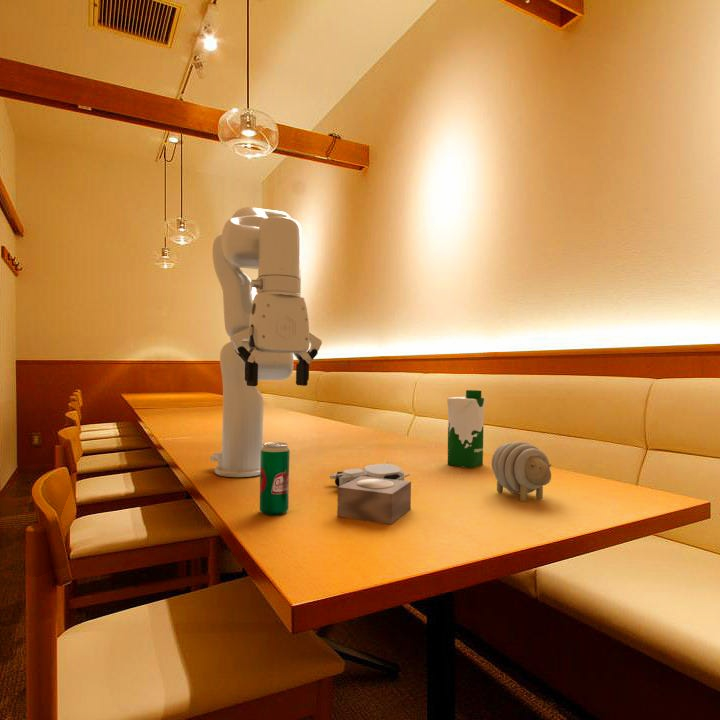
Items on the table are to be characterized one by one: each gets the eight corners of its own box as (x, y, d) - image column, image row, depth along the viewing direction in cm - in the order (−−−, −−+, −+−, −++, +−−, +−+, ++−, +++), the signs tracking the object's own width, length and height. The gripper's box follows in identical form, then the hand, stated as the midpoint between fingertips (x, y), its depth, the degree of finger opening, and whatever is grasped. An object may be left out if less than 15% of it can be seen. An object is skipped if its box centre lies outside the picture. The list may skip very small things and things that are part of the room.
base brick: (337, 515, 87) (337, 485, 87) (360, 502, 96) (361, 474, 96) (391, 524, 83) (392, 492, 83) (410, 508, 92) (411, 480, 92)
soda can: (275, 518, 85) (276, 447, 85) (253, 513, 88) (254, 444, 88) (294, 511, 89) (295, 443, 90) (272, 506, 92) (274, 441, 92)
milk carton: (474, 469, 129) (475, 391, 129) (442, 464, 134) (443, 390, 134) (487, 464, 136) (488, 390, 136) (456, 460, 141) (457, 389, 141)
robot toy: (344, 503, 99) (413, 492, 104) (343, 480, 99) (412, 470, 104) (327, 488, 111) (390, 479, 116) (326, 467, 111) (389, 459, 116)
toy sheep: (527, 508, 94) (528, 449, 94) (471, 488, 109) (472, 436, 109) (569, 503, 98) (570, 446, 98) (509, 484, 113) (510, 434, 114)
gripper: (241, 281, 81) (239, 387, 81) (331, 291, 91) (330, 386, 91) (224, 286, 87) (222, 385, 87) (311, 296, 97) (309, 384, 97)
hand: (277, 385), depth 89 cm, fingers open, 9 cm apart
